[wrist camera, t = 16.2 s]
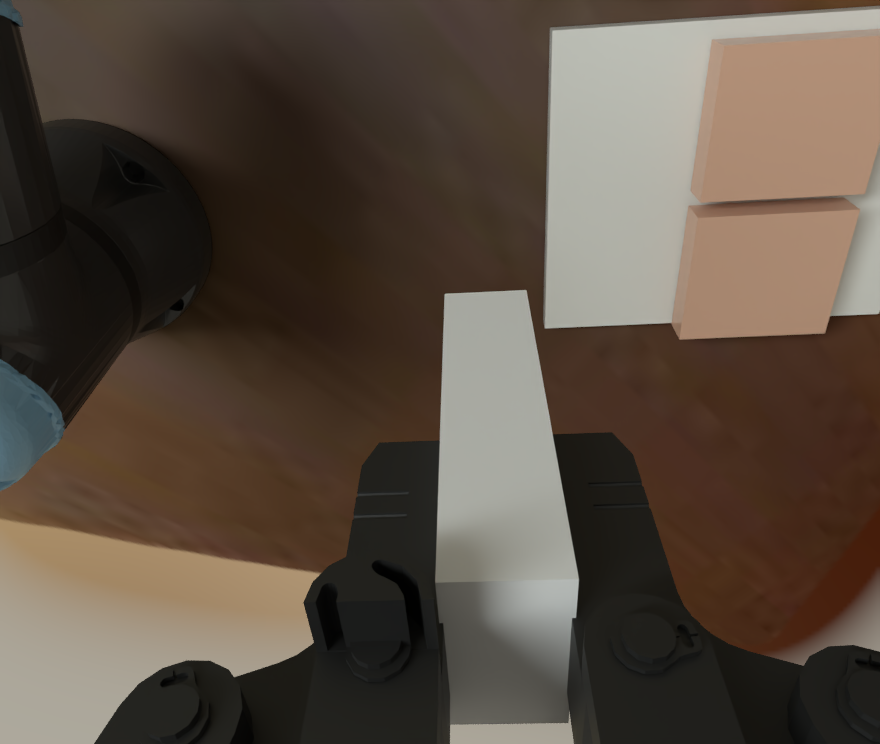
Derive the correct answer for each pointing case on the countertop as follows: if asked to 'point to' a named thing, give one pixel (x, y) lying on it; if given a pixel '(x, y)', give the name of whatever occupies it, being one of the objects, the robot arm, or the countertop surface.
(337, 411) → the countertop surface
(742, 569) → the countertop surface
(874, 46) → the tile
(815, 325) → the tile
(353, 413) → the countertop surface
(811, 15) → the stone board
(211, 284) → the countertop surface
